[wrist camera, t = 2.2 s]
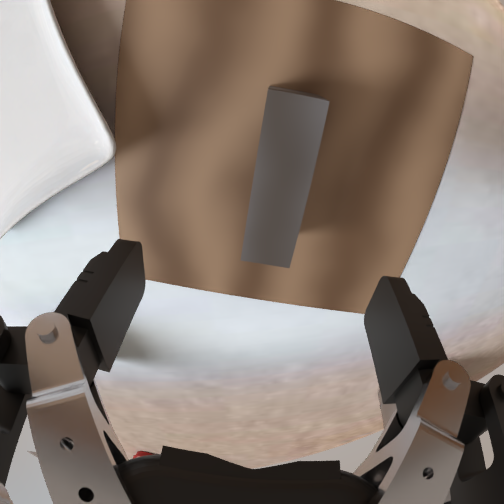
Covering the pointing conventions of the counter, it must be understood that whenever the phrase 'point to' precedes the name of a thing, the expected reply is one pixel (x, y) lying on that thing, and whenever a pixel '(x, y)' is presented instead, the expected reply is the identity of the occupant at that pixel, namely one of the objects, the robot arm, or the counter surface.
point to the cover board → (220, 135)
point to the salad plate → (42, 113)
